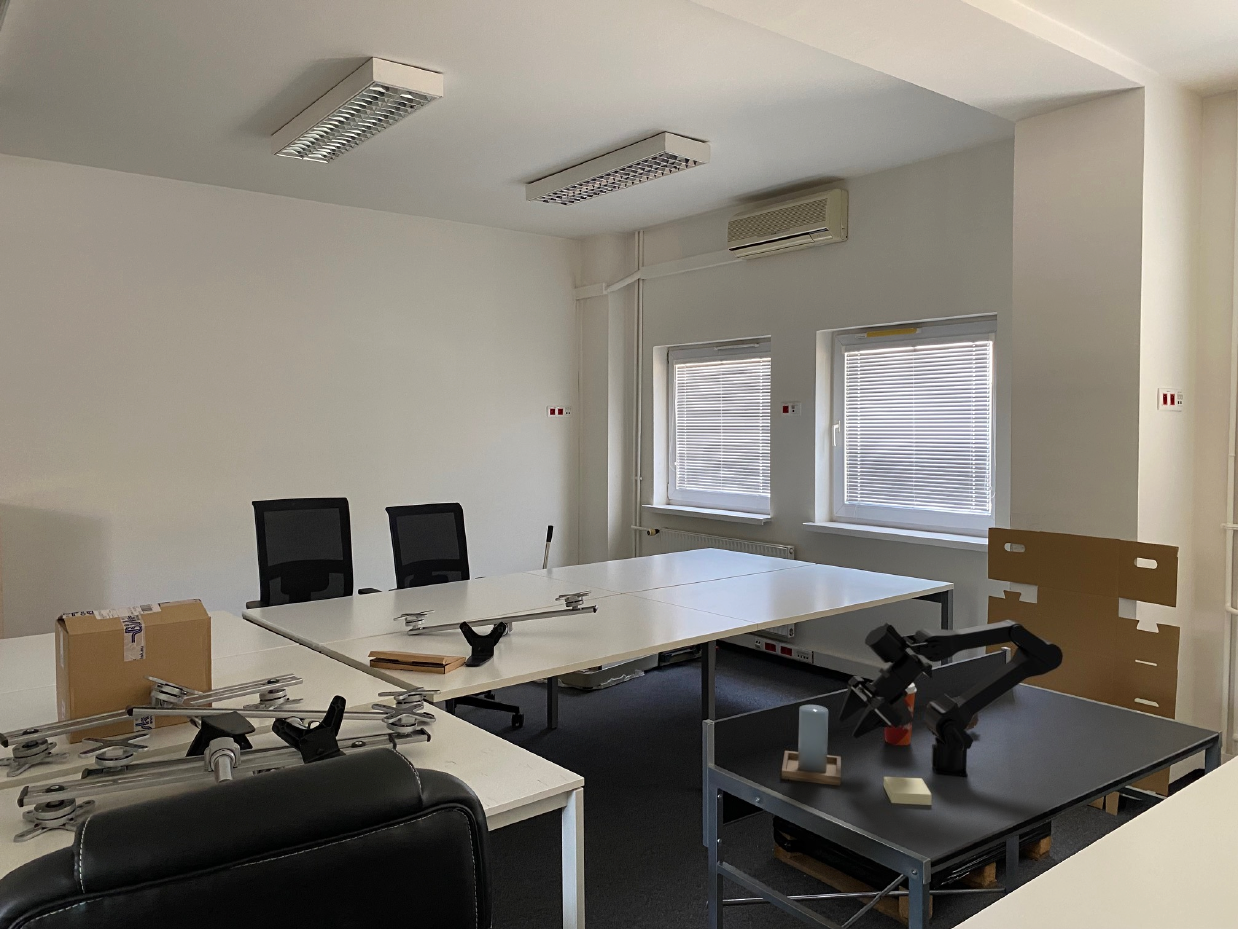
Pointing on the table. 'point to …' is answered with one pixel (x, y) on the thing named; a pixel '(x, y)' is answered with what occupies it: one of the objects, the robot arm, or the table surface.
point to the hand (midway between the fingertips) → (846, 728)
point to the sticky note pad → (907, 790)
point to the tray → (794, 773)
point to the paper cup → (903, 733)
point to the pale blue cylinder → (813, 738)
